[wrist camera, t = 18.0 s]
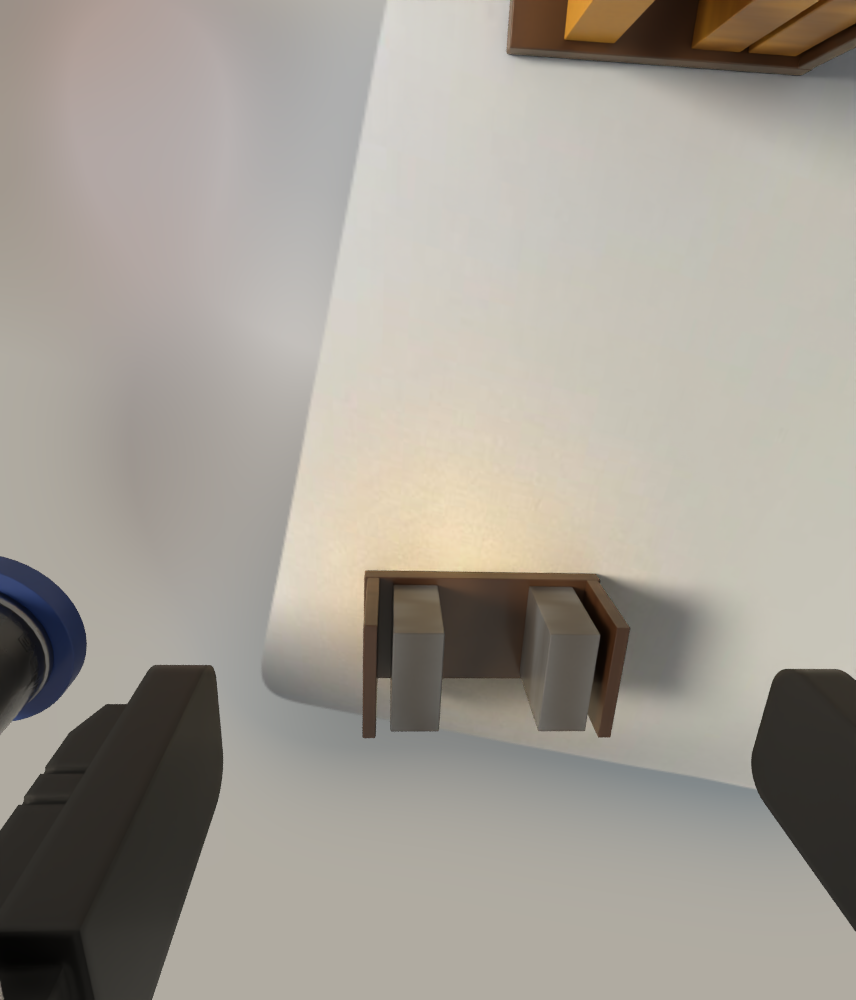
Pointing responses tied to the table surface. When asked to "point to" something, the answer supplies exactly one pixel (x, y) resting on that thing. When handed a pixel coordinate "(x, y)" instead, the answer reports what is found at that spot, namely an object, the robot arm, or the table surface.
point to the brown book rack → (492, 644)
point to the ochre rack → (700, 34)
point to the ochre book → (602, 19)
